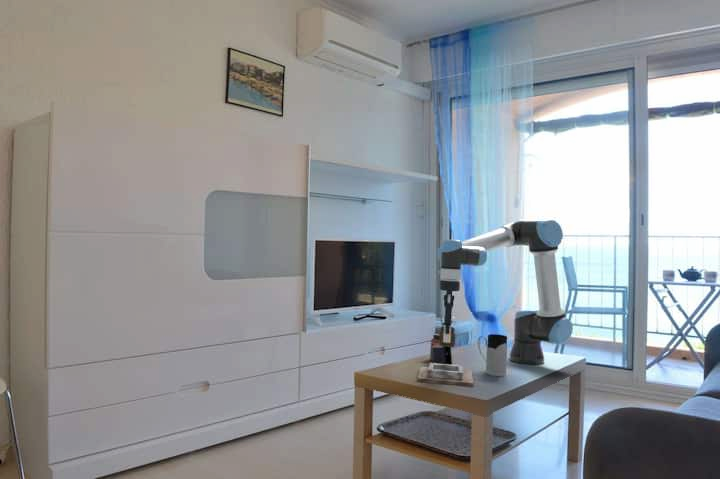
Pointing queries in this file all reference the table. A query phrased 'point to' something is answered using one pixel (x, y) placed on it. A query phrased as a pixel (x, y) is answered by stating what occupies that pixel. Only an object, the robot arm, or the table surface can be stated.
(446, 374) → the socket plate
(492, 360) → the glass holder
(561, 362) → the table surface
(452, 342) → the utensil holder
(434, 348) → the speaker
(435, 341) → the supplement bottle
